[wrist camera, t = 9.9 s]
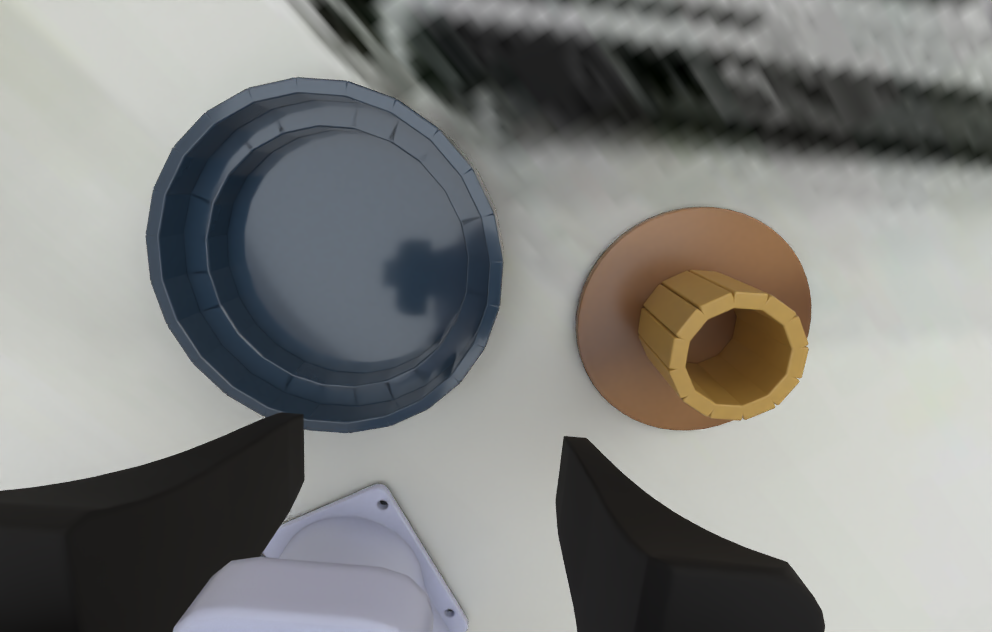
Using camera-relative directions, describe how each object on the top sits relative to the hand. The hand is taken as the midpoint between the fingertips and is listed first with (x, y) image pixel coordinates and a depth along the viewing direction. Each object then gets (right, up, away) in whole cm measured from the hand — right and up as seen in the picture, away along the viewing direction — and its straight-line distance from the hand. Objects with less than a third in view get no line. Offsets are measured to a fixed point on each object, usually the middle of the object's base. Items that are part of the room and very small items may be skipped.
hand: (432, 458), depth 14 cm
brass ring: (+10, +3, +8) cm, 14 cm away
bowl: (-4, +6, +8) cm, 11 cm away
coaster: (+10, +4, +9) cm, 14 cm away
